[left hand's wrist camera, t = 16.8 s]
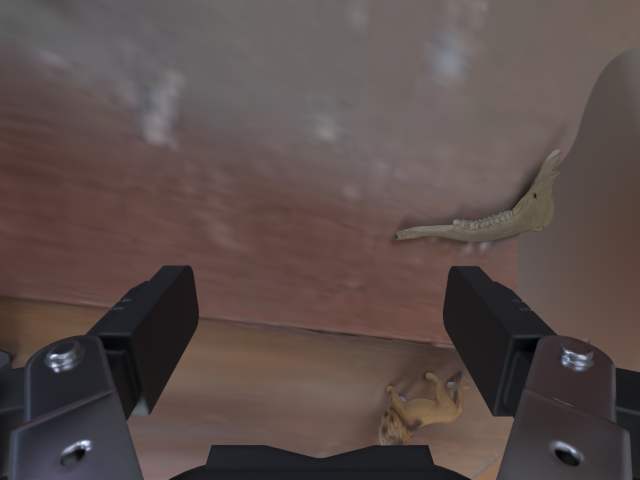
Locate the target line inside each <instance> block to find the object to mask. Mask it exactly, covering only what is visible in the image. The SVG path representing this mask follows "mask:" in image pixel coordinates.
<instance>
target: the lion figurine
mask: <svg viewBox="0 0 640 480" xmlns="http://www.w3.org/2000/svg"><path fill="white" fill-rule="evenodd" d="M462 373H463V371H460V372H458V374H457V377H456V383H455V382H448V383H447V387H448V388H449V389H453V391H452V393H451V394H450V395H449V394H448V393H447V392H446V391H445V390H444V388H443V385H442V381H441V380H439V379H438V378H437V377H436V376H435V375H434V374H432V373H430V372H428V373H426V374H425V378H426V379H427V380H433V381H434V382H435V397H436V399H435V400H433V401H432V400H429V399H423V398H419V399H413V400H411V401H408V402H407V403H406V400H405V399H404V397H402V396H399V395H398V392H397V390H396V389H395V388H394V387H393V386H388V387H387V389H386V390H387V392H388V393H391V401H392V407H390V408H388V409H387V410H386V412H385V413H384V414H383V415H382V419H381V424H380V427H379V429H378V433H379V435H378V444H379V445H408V443H409V442H410V440H412V438H413V433H414V432H415V431H416V430H417V429H418V428H419V427H422V426H425V425H428V424H432V423H451V422H453V421H455V420H456V419H457V418H458V416H459V415H460V414H461V412H462V408H463V398H462V392H461V387H460V379H461V377H462ZM457 398H458V404H456V401H457Z"/></svg>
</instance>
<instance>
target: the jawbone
mask: <svg viewBox="0 0 640 480" xmlns="http://www.w3.org/2000/svg"><path fill="white" fill-rule="evenodd" d="M561 151H562V150H561V148H560V149H556V150H554V151H553V152H552V153H551V154H550V155H549V156H548V157H547V158H546V160H545V161H544V163H543V165H542V166H541V168H540V170H539V173H538V175H537V176H536V178H535V180H534V182H533V184H532V186H531V187H530V189H529V191H528V192H527V193H526V194H525V196H524V197H523V198H521V199H520V201H519V202H518V203H517V205H516V206H515V207H514V208H513V209H512V210H508V211H504V213H501V212H500V213H499V214H498V215H496V214H495V215H493V216H492V217H491V216H488V218H487V219H486V218H483V219H482V220H481V219H478V220H477V221H476V220H475V221H474V222H473V221H472V220H470V221H469V222H468V221H466V220H464V219H463V220H461V221H460V220H458V219H456V220H454V221H453V224H452V225H438V226H418V227H412V228H409V229H407V230H402V231H398V232H396V237H395V238H394V240H406V239H413V238H418V237H424V236H437V237H444V238H449V239H454V240H460V241H468V242H484V241H491V240H497V239H502V238H506V237H510V236H513V235H516V234H519V233H522V232H526V231H540V230H542V229H545V228H546V227H547V226H548V225H549V224H550V222H551V220H552V218H553V215H554V201H553V197H552V186H553V182H554V180H555V179H556V178H557V176H558V175H559V171H556V170H555V171H552V169H553V167H554V165H555V164H556V162H557V161H558V160H559V159H560V158H561V156H560V153H561Z"/></svg>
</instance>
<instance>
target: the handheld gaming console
mask: <svg viewBox="0 0 640 480" xmlns="http://www.w3.org/2000/svg"><path fill="white" fill-rule="evenodd" d="M11 369H12V356H10V355H9V354H6V353H4V352H1V351H0V372H2V371H7V370H11Z"/></svg>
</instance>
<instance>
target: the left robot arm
mask: <svg viewBox="0 0 640 480" xmlns="http://www.w3.org/2000/svg"><path fill="white" fill-rule="evenodd" d="M198 319H199V309H198V302H197V295H196V288H195V281H194V274H193V270H192V268H191V267H190V266H163V267H162V268H161V269H160V270H159V271H158V272H157V273H156V274H155V275H154V276H153V277H152V278H151V279H150V281H145V282H143V283H141V284H140V285H138V286H136V287H134V288H132V289H131V290H129V291H128V292H127V293H126V294H125V295H124V296H123V297H122V298H121V299H120V302H117V303H116V304H115V305H114V306H113V307H112V310H109V311H108V312H107V313H106V314H105V315H104V316H103V317H102V318H101V319H100V320H99V321H98V322H97V323H96V324H95V325H94V326H93V327H92V328H91V329H90V330H89V331H88V332H87V333H86V334H85V335H80V336H73V337H68V338H65V339H62V340H59V341H56V342H54V343H52V344H49V345H48V346H46V347H44V348H42V349H41V350H39V351H38V352H36V353H35V354H34V355H33V356H32V357H31V358H30V359H29V360H28V361H27V363H26V365H25V367H22V368H17V369H12V370H7V371H2V372H0V480H144V479H143V475H142V472H141V468H140V465H139V462H138V458H137V455H136V452H135V448H134V445H133V442H132V438H131V435H130V432H129V428H128V425H127V420H128V418H129V417H130V415H150V413H151V412H152V410H153V408H154V406H155V404H156V402H157V400H158V399H159V397H160V395H161V393H162V391H163V389H164V388H165V386H166V384H167V382H168V380H169V378H170V376H171V375H172V373H173V371H174V369H175V367H176V365H177V364H178V362H179V360H180V358H181V356H182V354H183V352H184V351H185V349H186V347H187V345H188V343H189V341H190V340H191V338H192V336H193V334H194V332H195V330H196V328H197V325H198ZM443 321H444V326H445V329H446V331H447V333H448V335H449V337H450V338H451V340H452V342H453V344H454V346H455V348H456V349H457V351H458V353H459V355H460V357H461V359H462V360H463V362H464V364H465V366H466V368H467V369H468V371H469V373H470V375H471V377H472V379H473V380H474V382H475V384H476V386H477V388H478V390H479V391H480V393H481V395H482V397H483V399H484V400H485V402H486V404H487V406H488V408H489V410H490V411H491V413H492V415H493V416H513V418H514V422H513V425H512V428H511V432H510V435H509V438H508V442H507V445H506V448H505V452H504V455H503V458H502V462H501V465H500V469H499V472H498V475H497V479H496V480H640V372H635V371H630V370H625V369H620V368H616V367H615V365H614V363H613V361H612V360H611V359H610V358H609V357H608V356H607V355H606V354H605V353H604V352H602V351H601V350H599V349H598V348H596V347H594V346H592V345H591V344H588V343H586V342H584V341H581V340H578V339H575V338H572V337H567V336H560V335H557V334H556V333H555V332H554V331H553V330H552V329H551V328H550V327H549V326H548V325H547V324H546V323H545V322H544V321H543V320H542V319H541V318H540V317H539V316H538V315H537V314H536V313H534V312H533V311H531V309H530V308H529V307H528V306H527V305H526V304H525V303H524V302H522V300H521V299H520V298H519V297H518V296H517V295H516V294H515V293H514V292H513V291H512V290H511V289H509V288H507V287H505V286H503V285H502V284H500V283H498V282H493V281H492V280H491V279H490V278H489V277H488V276H487V274H486V273H485V272H484V271H483V270H482V269H481V268H480V267H478V266H452V267H451V268H450V271H449V275H448V281H447V288H446V295H445V301H444V308H443ZM169 480H471V479H469V478H467V477H465V476H463V475H461V474H459V473H457V472H455V471H452V470H449V469H447V468H444V467H441V466H437V465H434V463H433V459H432V456H431V453H430V450H429V447H428V445H374V446H370V447H366V448H362V449H358V450H354V451H350V452H346V453H342V454H338V455H334V456H330V457H326V458H314V457H310V456H306V455H302V454H298V453H294V452H290V451H286V450H282V449H278V448H274V447H270V446H266V445H212V447H211V450H210V453H209V456H208V459H207V462H206V465H203V466H199V467H196V468H193V469H191V470H188V471H185V472H183V473H181V474H179V475H177V476H175V477H173V478H171V479H169Z"/></svg>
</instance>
